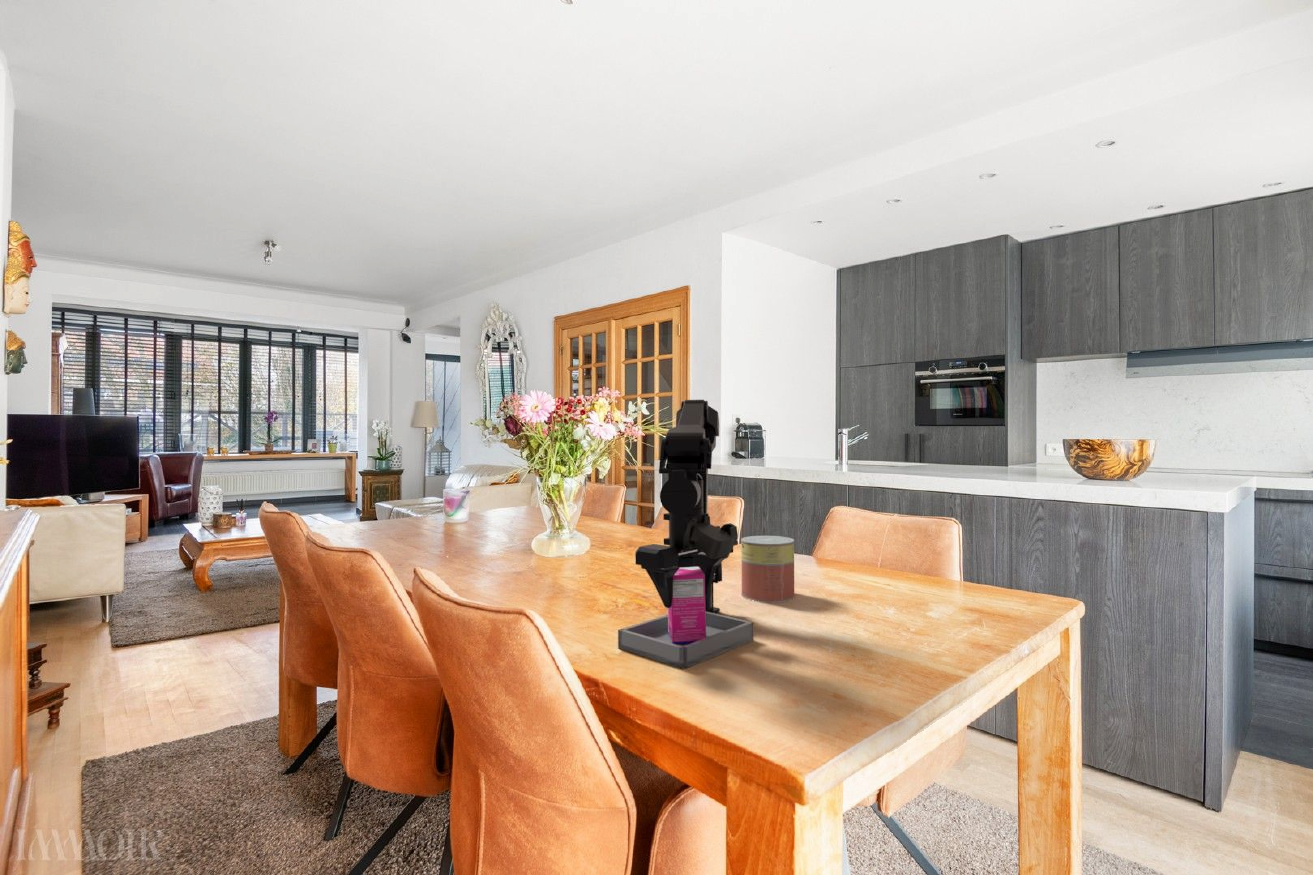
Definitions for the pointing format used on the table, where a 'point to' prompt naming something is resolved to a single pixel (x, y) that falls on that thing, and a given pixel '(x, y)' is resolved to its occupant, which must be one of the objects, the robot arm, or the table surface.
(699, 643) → the tray
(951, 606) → the table surface
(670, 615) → the supplement box
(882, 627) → the table surface
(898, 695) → the table surface
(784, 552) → the canned food
